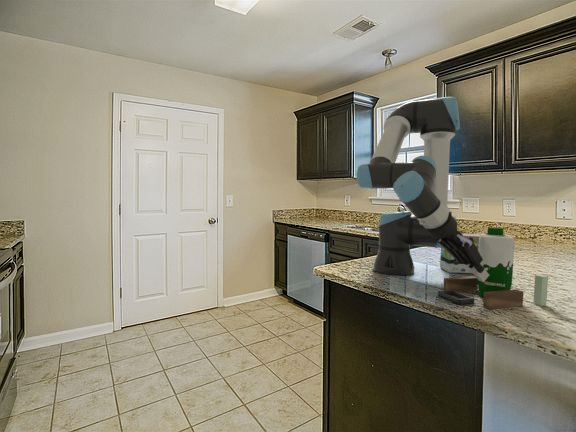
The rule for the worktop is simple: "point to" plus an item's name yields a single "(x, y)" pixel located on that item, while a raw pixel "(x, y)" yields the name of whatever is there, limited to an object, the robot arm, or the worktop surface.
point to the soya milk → (496, 260)
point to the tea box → (451, 263)
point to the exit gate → (540, 290)
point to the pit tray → (456, 297)
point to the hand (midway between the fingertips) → (484, 277)
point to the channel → (485, 293)
